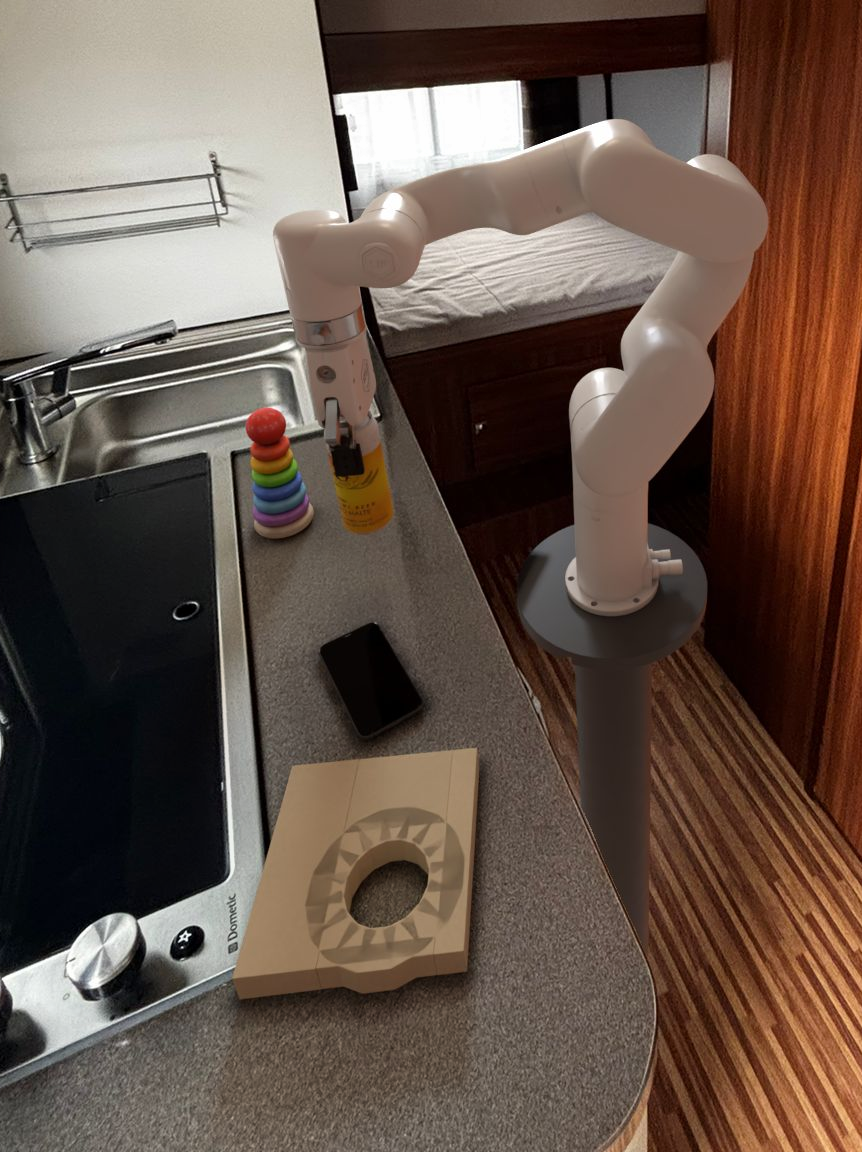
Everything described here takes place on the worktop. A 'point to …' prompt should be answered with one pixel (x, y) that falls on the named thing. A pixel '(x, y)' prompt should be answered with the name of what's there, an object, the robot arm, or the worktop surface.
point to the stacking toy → (275, 478)
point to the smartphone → (370, 680)
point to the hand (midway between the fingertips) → (356, 455)
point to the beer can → (365, 484)
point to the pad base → (363, 875)
